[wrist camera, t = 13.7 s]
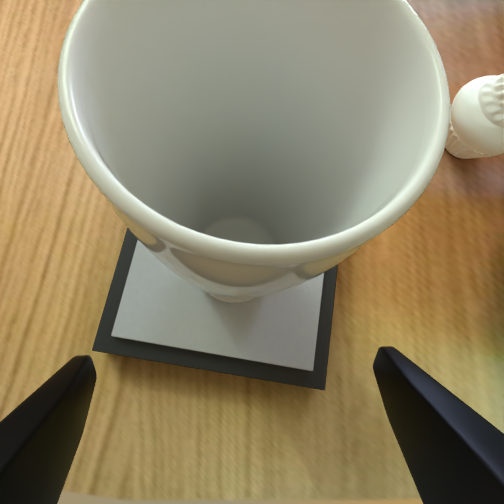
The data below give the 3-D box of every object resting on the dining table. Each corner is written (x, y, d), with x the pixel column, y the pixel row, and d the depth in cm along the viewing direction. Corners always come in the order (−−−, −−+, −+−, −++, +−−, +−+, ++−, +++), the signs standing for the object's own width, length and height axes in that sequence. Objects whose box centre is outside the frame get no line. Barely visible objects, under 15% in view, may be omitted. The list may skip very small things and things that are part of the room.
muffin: (482, 109, 27) (566, 38, 21) (502, 173, 26) (600, 118, 19) (416, 112, 27) (482, 38, 20) (434, 177, 25) (510, 121, 19)
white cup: (157, 257, 19) (-46, 36, 5) (237, 191, 21) (269, -128, 6) (231, 340, 18) (256, 377, 4) (309, 264, 20) (534, 92, 5)
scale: (315, 384, 21) (327, 392, 18) (104, 348, 20) (87, 351, 18) (336, 194, 24) (349, 178, 22) (157, 158, 24) (150, 138, 21)
